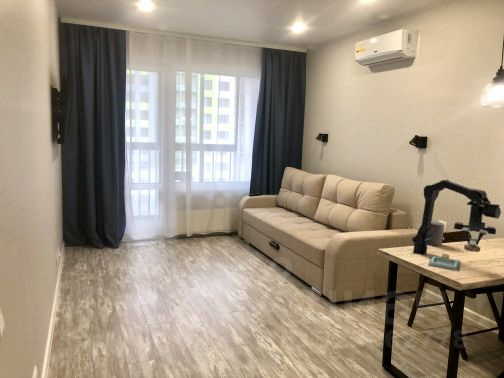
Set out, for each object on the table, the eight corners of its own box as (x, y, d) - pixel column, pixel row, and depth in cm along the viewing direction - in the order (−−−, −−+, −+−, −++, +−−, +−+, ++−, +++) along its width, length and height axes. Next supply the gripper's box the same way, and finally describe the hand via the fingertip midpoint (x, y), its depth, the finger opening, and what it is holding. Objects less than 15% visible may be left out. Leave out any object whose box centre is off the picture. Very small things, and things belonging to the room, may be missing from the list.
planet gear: (463, 250, 210) (465, 239, 209) (464, 247, 216) (465, 236, 216) (479, 253, 207) (481, 241, 206) (480, 249, 213) (481, 238, 212)
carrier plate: (428, 265, 213) (428, 260, 212) (431, 256, 228) (432, 251, 228) (457, 271, 206) (458, 265, 206) (459, 261, 222) (460, 256, 221)
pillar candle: (425, 245, 252) (427, 221, 250) (424, 241, 261) (427, 218, 259) (442, 247, 249) (445, 223, 246) (441, 243, 258) (444, 220, 255)
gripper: (455, 214, 206) (451, 244, 209) (497, 220, 197) (493, 251, 200) (456, 211, 216) (453, 240, 218) (497, 216, 207) (493, 246, 209)
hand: (472, 244), depth 211 cm, fingers closed on planet gear, 4 cm apart
